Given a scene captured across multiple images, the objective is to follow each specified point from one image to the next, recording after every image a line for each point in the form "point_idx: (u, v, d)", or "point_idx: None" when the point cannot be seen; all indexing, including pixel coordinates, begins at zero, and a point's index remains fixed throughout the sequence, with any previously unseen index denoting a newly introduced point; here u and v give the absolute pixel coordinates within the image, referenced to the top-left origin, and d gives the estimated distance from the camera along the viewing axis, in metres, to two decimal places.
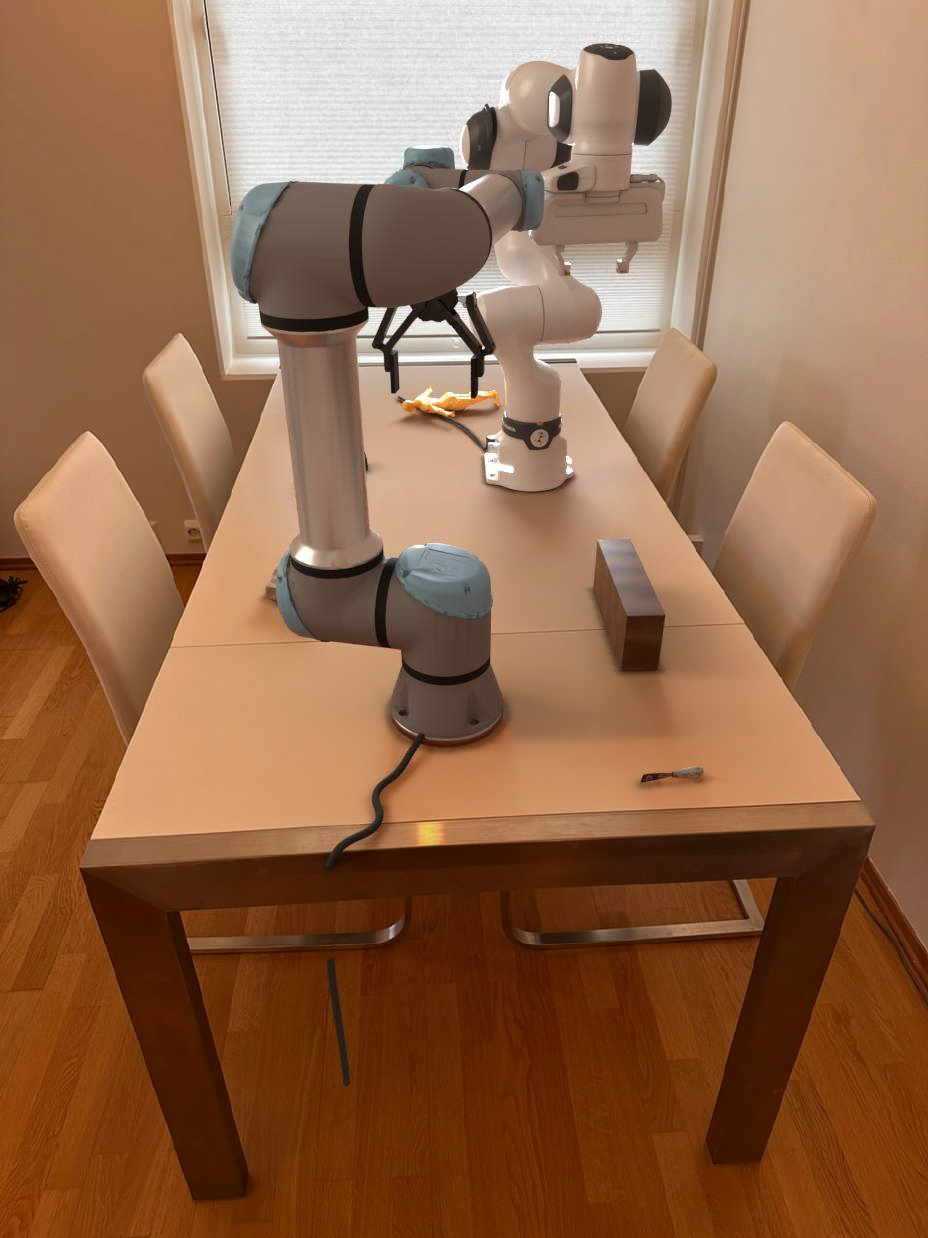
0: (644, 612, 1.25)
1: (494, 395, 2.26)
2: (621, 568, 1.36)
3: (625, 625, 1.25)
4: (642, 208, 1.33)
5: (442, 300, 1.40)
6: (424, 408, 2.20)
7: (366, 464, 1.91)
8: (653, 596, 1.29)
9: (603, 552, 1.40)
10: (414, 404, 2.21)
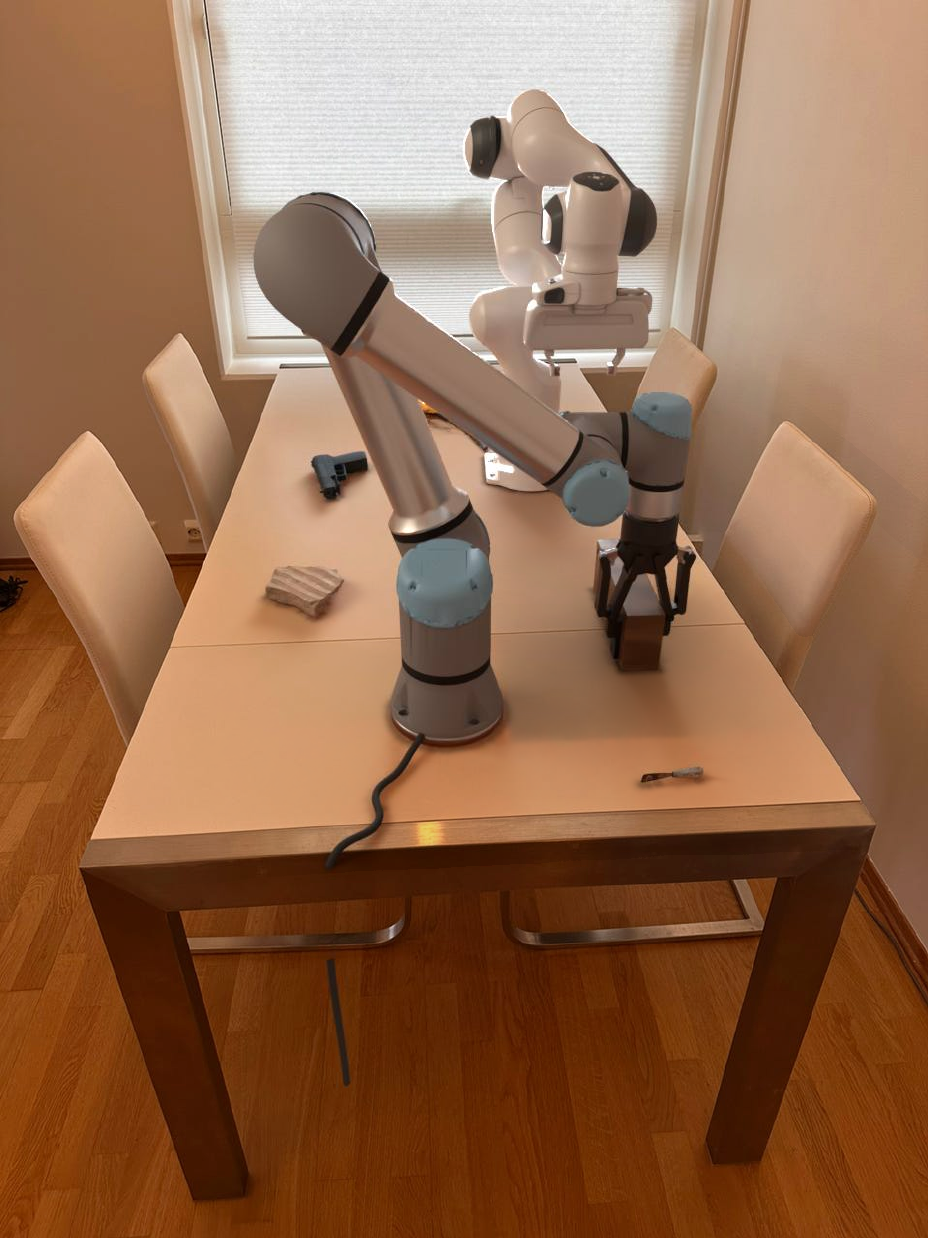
0: (644, 612, 1.25)
1: None
2: (621, 568, 1.36)
3: (625, 625, 1.25)
4: (628, 319, 1.42)
5: (663, 555, 1.22)
6: (424, 408, 2.20)
7: (366, 464, 1.91)
8: (653, 596, 1.29)
9: None
10: None
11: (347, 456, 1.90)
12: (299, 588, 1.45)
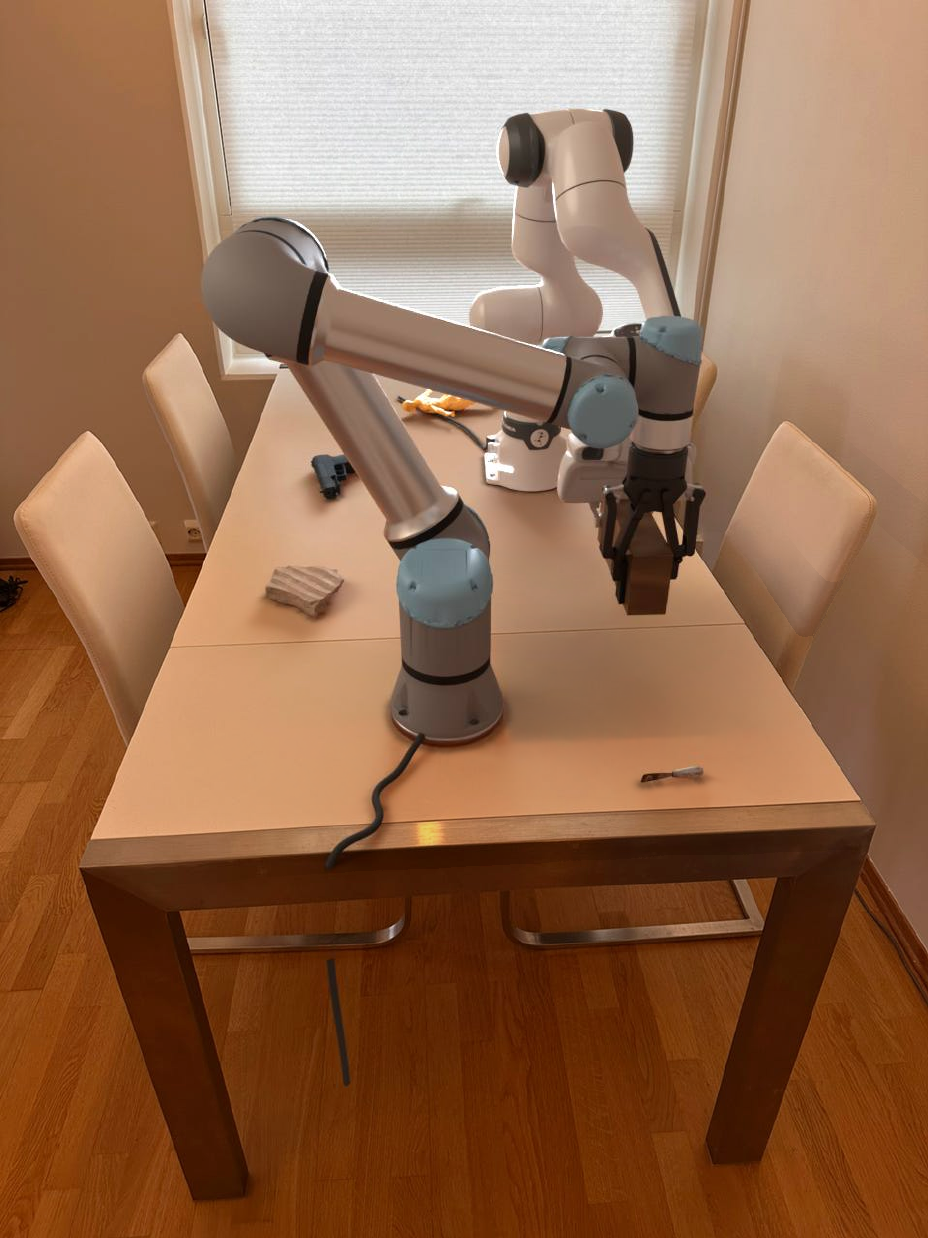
0: (651, 552, 1.20)
1: None
2: None
3: (631, 566, 1.20)
4: None
5: (671, 491, 1.17)
6: (424, 408, 2.20)
7: None
8: (660, 537, 1.24)
9: None
10: (414, 404, 2.21)
11: None
12: (299, 588, 1.45)
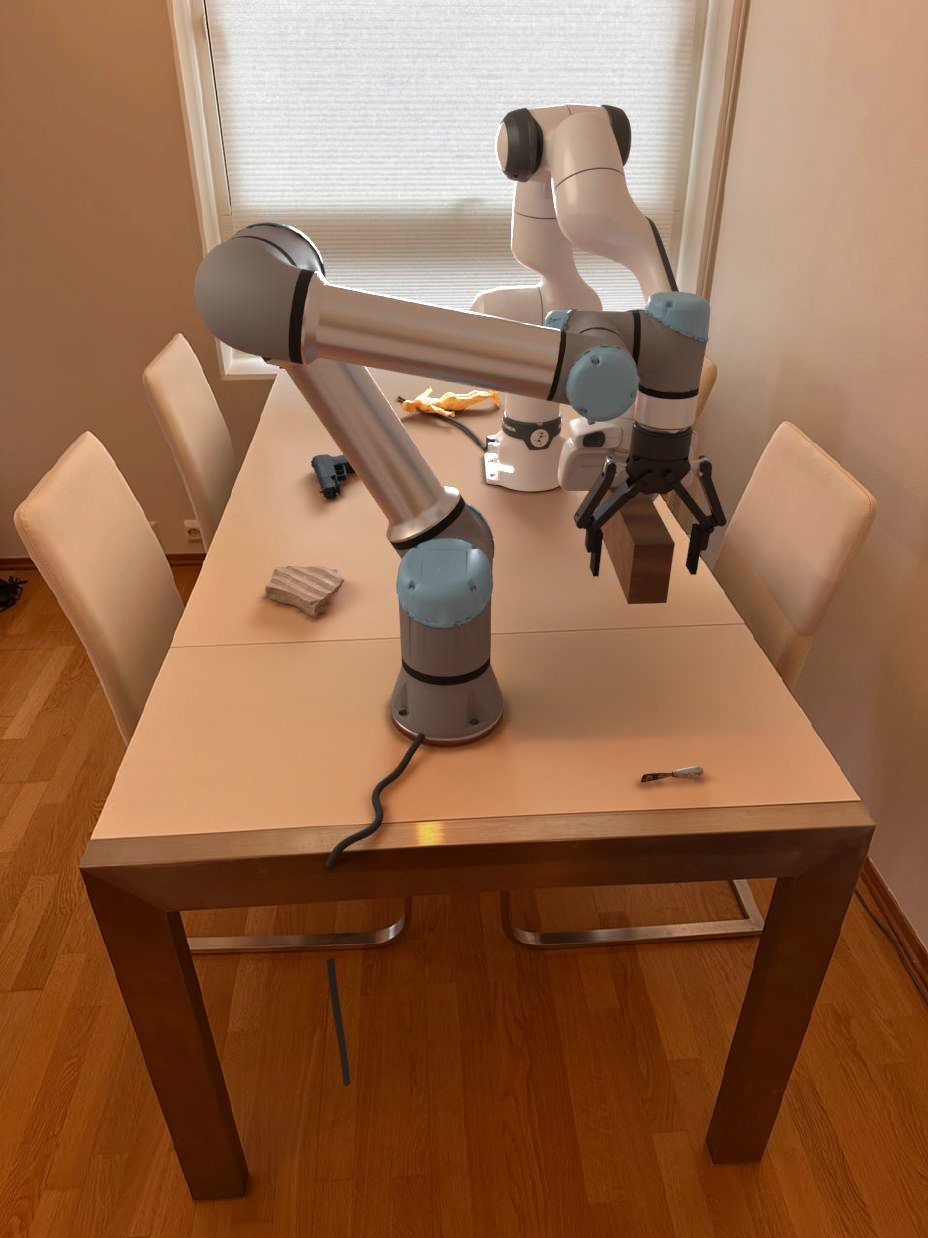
0: (652, 540, 1.19)
1: (494, 395, 2.26)
2: None
3: (632, 554, 1.20)
4: None
5: (673, 470, 1.15)
6: (424, 408, 2.20)
7: None
8: (662, 526, 1.23)
9: None
10: (414, 404, 2.21)
11: None
12: (299, 588, 1.45)
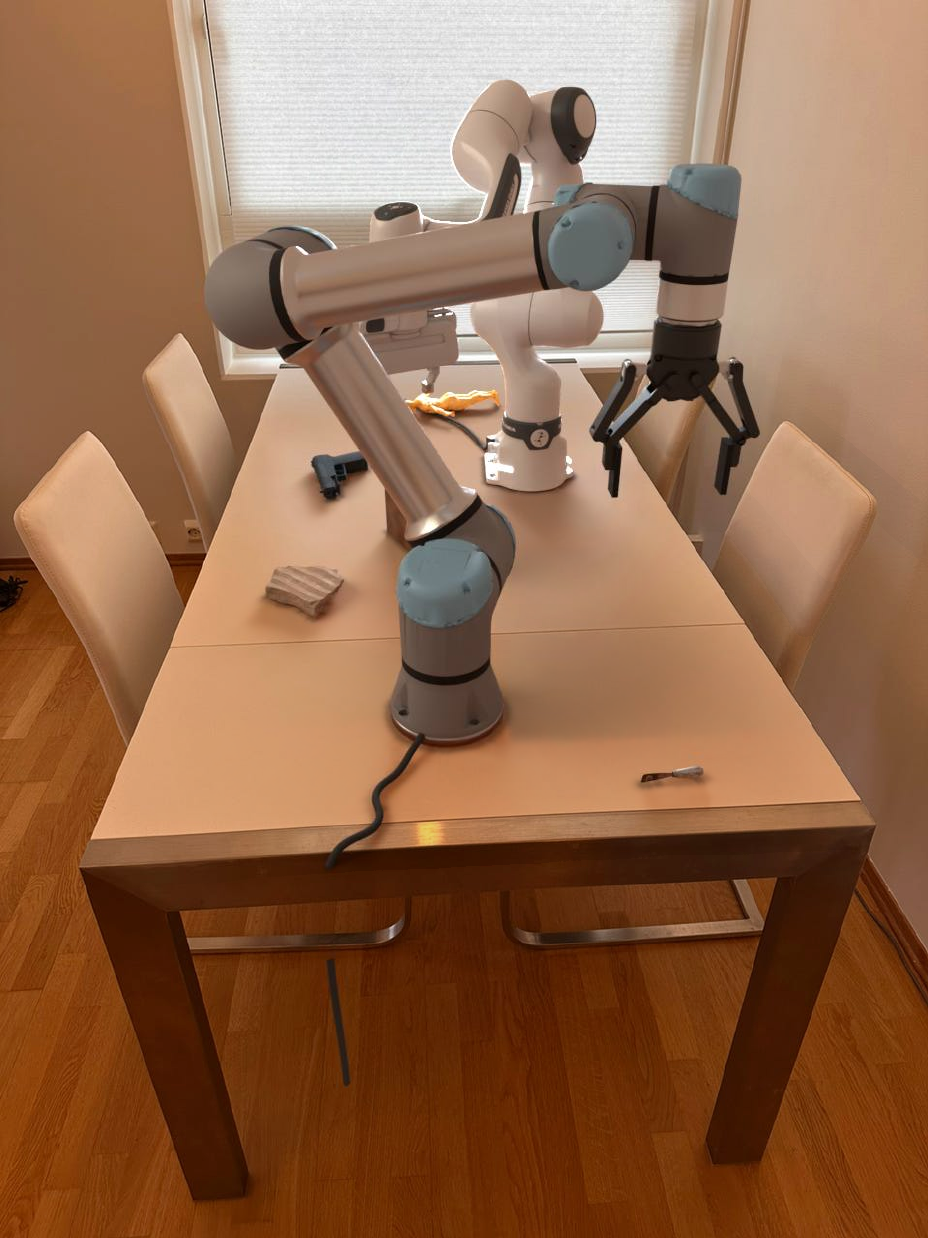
0: None
1: (494, 395, 2.26)
2: None
3: None
4: (439, 338, 1.48)
5: (700, 372, 1.03)
6: (424, 408, 2.20)
7: (366, 464, 1.91)
8: None
9: None
10: (414, 404, 2.21)
11: (347, 456, 1.90)
12: (299, 588, 1.45)
